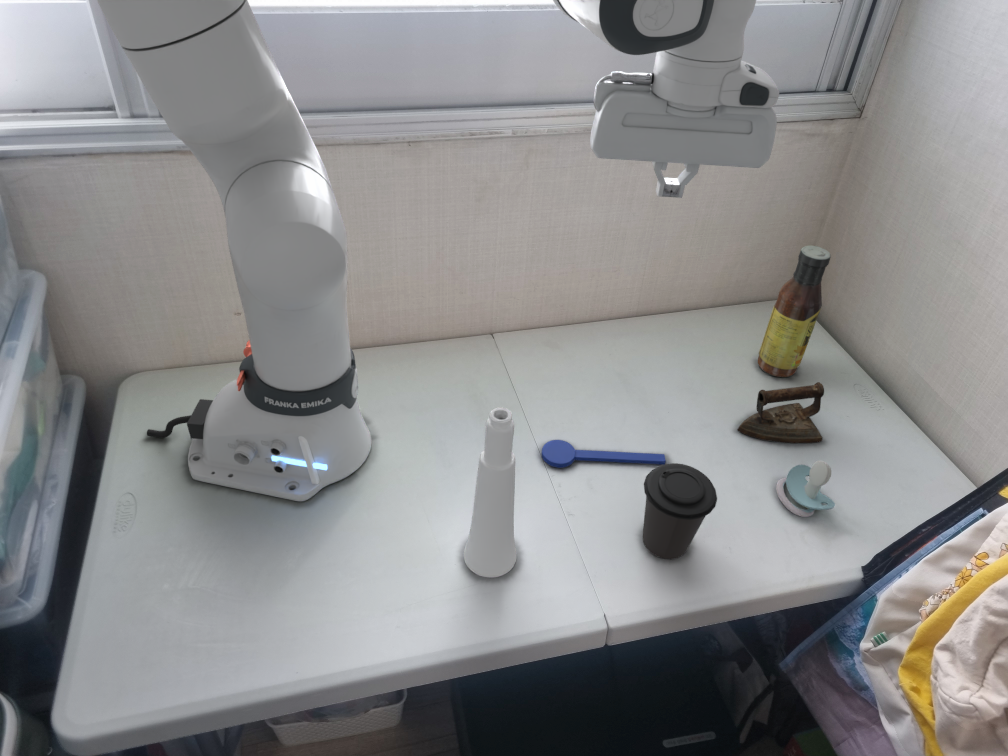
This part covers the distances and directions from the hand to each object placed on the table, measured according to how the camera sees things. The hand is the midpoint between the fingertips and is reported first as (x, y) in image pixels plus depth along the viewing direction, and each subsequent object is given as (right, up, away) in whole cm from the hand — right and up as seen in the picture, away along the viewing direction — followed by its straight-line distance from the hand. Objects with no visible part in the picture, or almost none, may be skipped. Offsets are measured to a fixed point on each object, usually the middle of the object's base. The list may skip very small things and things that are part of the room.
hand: (668, 195), depth 91 cm
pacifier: (+18, -37, +6) cm, 42 cm away
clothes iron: (+18, -29, +16) cm, 38 cm away
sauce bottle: (+22, -20, +27) cm, 40 cm away
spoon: (-7, -32, +10) cm, 34 cm away
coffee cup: (-1, -41, 0) cm, 41 cm away
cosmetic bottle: (-21, -42, -3) cm, 47 cm away
